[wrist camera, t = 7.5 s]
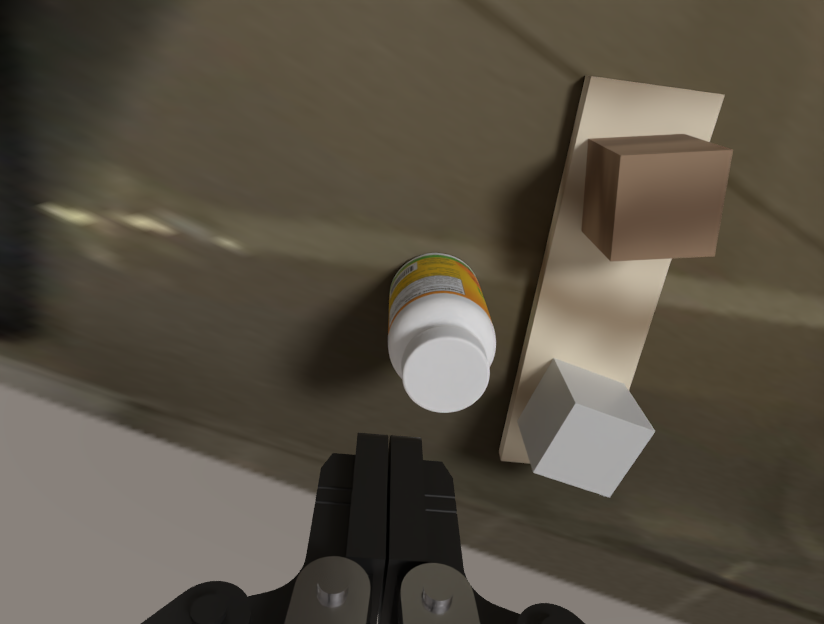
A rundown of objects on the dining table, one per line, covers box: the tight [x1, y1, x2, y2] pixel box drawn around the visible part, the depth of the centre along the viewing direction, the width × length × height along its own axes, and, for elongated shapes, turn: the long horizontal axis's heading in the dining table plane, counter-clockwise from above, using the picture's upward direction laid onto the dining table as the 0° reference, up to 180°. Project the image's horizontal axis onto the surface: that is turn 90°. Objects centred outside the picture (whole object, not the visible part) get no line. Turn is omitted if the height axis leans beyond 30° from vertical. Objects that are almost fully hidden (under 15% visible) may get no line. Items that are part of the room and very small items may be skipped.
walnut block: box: [581, 134, 733, 262], centre depth 30 cm, size 5×5×5 cm
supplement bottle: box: [388, 253, 496, 413], centre depth 31 cm, size 5×5×10 cm
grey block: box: [517, 358, 655, 497], centre depth 36 cm, size 5×5×5 cm
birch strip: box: [499, 75, 725, 463], centre depth 35 cm, size 24×7×1 cm, turn 173°
